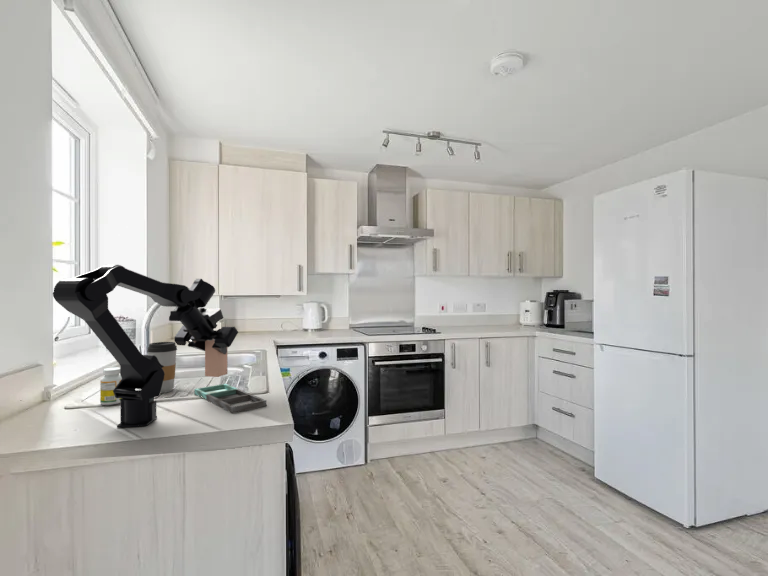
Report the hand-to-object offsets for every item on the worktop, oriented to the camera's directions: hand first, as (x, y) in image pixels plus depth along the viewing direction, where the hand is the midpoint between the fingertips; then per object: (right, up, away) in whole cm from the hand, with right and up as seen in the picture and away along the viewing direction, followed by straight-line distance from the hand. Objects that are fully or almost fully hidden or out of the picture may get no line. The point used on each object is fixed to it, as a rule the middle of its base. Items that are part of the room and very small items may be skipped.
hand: (219, 352), depth 124 cm
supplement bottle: (-26, -13, -11) cm, 31 cm away
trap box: (+6, -12, -8) cm, 16 cm away
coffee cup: (-19, -13, +3) cm, 23 cm away
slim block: (0, -7, -1) cm, 7 cm away
